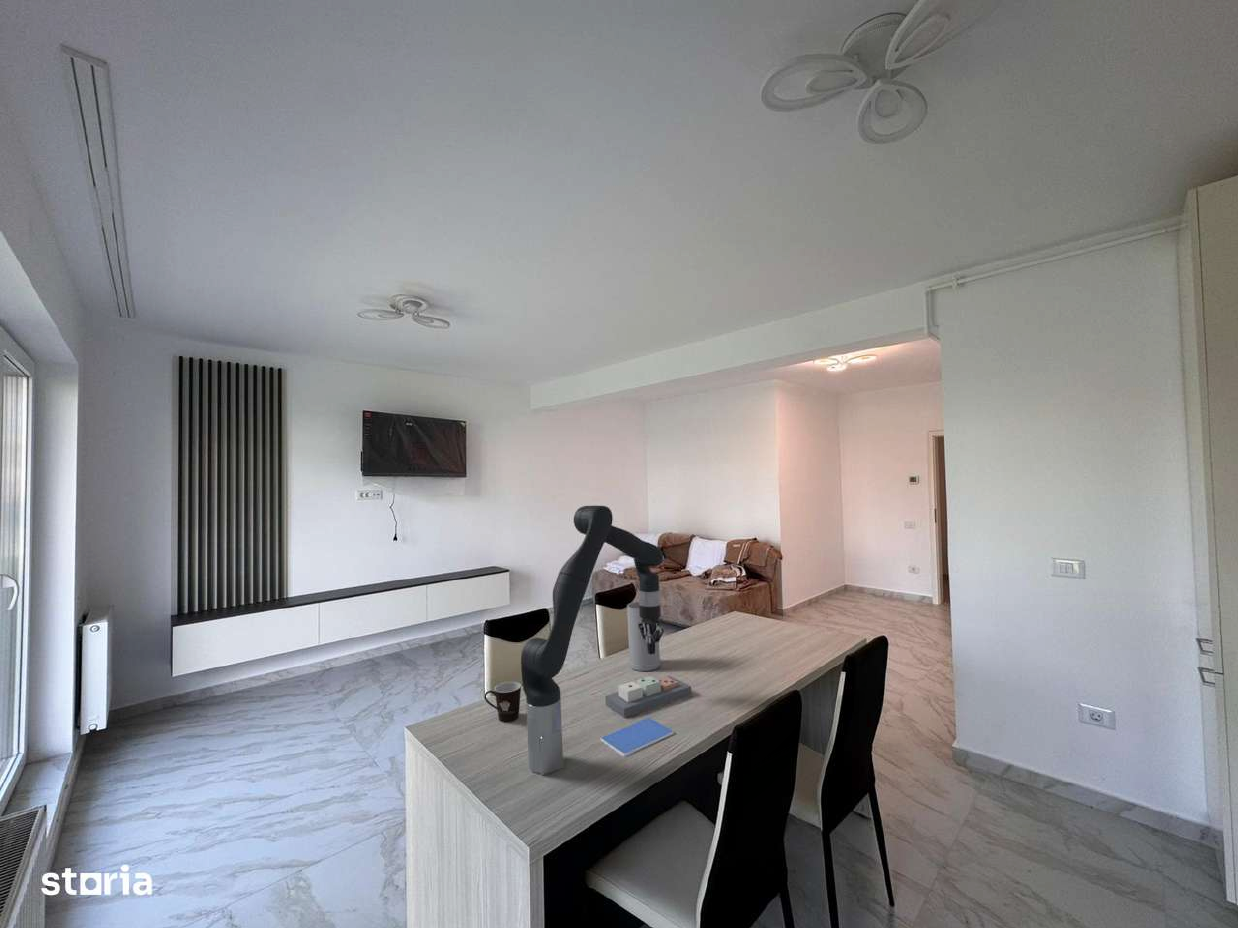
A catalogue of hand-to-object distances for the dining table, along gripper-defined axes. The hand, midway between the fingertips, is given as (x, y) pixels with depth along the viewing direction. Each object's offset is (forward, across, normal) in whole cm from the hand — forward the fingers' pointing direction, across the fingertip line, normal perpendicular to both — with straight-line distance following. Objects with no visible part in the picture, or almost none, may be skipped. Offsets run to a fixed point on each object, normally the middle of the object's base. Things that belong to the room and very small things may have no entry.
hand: (651, 653), depth 169 cm
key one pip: (+13, 0, +9) cm, 16 cm away
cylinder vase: (+15, +28, -16) cm, 35 cm away
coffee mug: (+17, +19, +46) cm, 53 cm away
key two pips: (+13, +1, +1) cm, 13 cm away
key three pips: (+15, +1, -6) cm, 16 cm away
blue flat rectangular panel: (+17, -18, +18) cm, 30 cm away
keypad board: (+16, +1, +1) cm, 16 cm away
